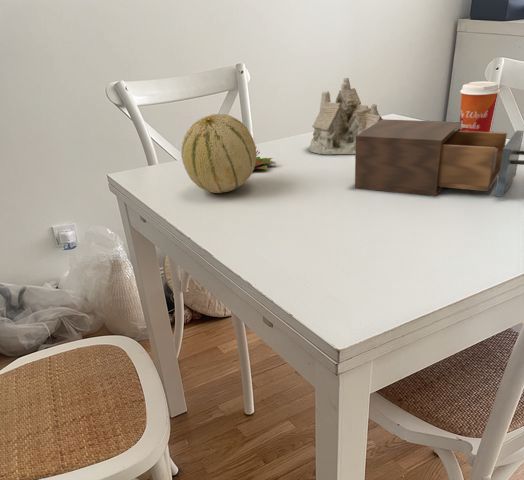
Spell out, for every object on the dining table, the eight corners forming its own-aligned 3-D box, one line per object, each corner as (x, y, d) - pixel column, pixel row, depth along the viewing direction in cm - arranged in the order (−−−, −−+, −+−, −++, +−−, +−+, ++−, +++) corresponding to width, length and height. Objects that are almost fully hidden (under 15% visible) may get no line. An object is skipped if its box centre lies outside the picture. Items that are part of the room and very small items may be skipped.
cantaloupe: (258, 177, 117) (252, 102, 108) (259, 199, 104) (252, 117, 96) (191, 182, 117) (179, 108, 109) (184, 205, 105) (170, 124, 96)
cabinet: (455, 173, 108) (461, 122, 102) (435, 196, 98) (441, 140, 93) (379, 167, 115) (381, 119, 109) (354, 188, 105) (355, 135, 100)
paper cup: (445, 156, 118) (453, 86, 110) (464, 148, 122) (473, 80, 114) (478, 161, 113) (489, 88, 105) (497, 152, 117) (508, 82, 109)
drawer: (540, 176, 100) (550, 131, 95) (529, 198, 91) (539, 150, 87) (437, 168, 108) (442, 127, 104) (418, 188, 100) (422, 144, 95)
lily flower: (273, 174, 117) (271, 152, 115) (219, 176, 119) (217, 154, 117) (281, 159, 127) (279, 138, 124) (231, 160, 129) (229, 140, 126)
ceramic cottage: (301, 147, 133) (303, 80, 124) (356, 138, 139) (362, 73, 130) (336, 164, 122) (340, 92, 113) (394, 154, 128) (403, 84, 119)
